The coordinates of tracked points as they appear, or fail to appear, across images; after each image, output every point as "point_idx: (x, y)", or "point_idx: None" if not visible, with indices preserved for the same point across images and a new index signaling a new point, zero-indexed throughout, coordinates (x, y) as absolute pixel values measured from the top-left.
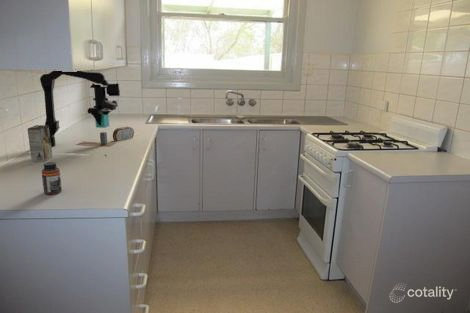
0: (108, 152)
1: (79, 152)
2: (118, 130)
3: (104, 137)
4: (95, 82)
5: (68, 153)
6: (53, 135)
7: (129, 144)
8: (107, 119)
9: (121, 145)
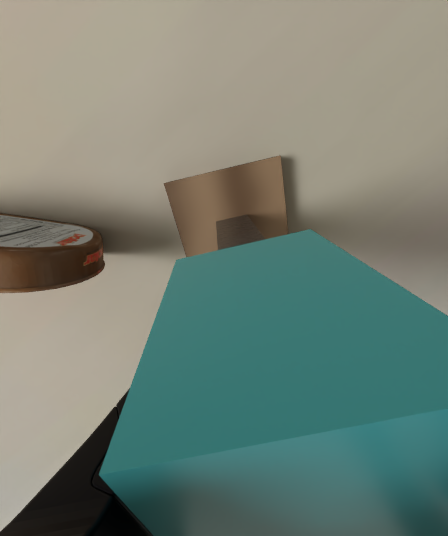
0: (361, 85)
1: (394, 255)
2: (26, 250)
3: (256, 228)
4: None
5: (421, 285)
6: None
7: (76, 110)
8: (218, 313)
9: (141, 149)
